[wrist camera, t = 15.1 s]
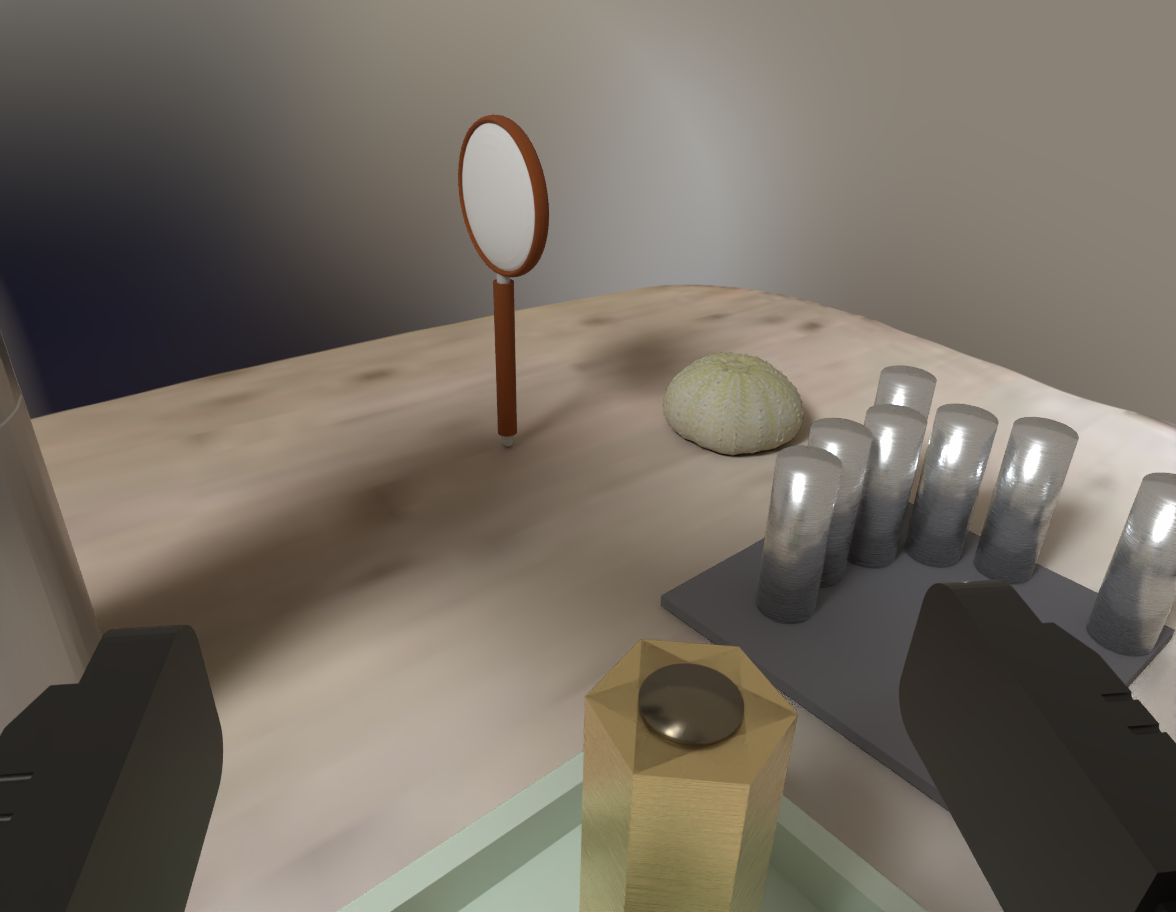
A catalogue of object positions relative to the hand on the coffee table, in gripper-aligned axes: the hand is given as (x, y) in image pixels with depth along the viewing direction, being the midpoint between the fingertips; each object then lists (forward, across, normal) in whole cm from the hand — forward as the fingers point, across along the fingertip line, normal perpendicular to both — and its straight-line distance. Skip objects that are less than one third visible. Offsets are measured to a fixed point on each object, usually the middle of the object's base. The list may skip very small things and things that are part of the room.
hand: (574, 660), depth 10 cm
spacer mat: (+23, -19, +21) cm, 37 cm away
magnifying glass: (+42, -1, +22) cm, 47 cm away
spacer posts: (+23, -20, +21) cm, 37 cm away
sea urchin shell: (+43, -16, +22) cm, 51 cm away
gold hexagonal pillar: (+6, -4, +20) cm, 21 cm away
